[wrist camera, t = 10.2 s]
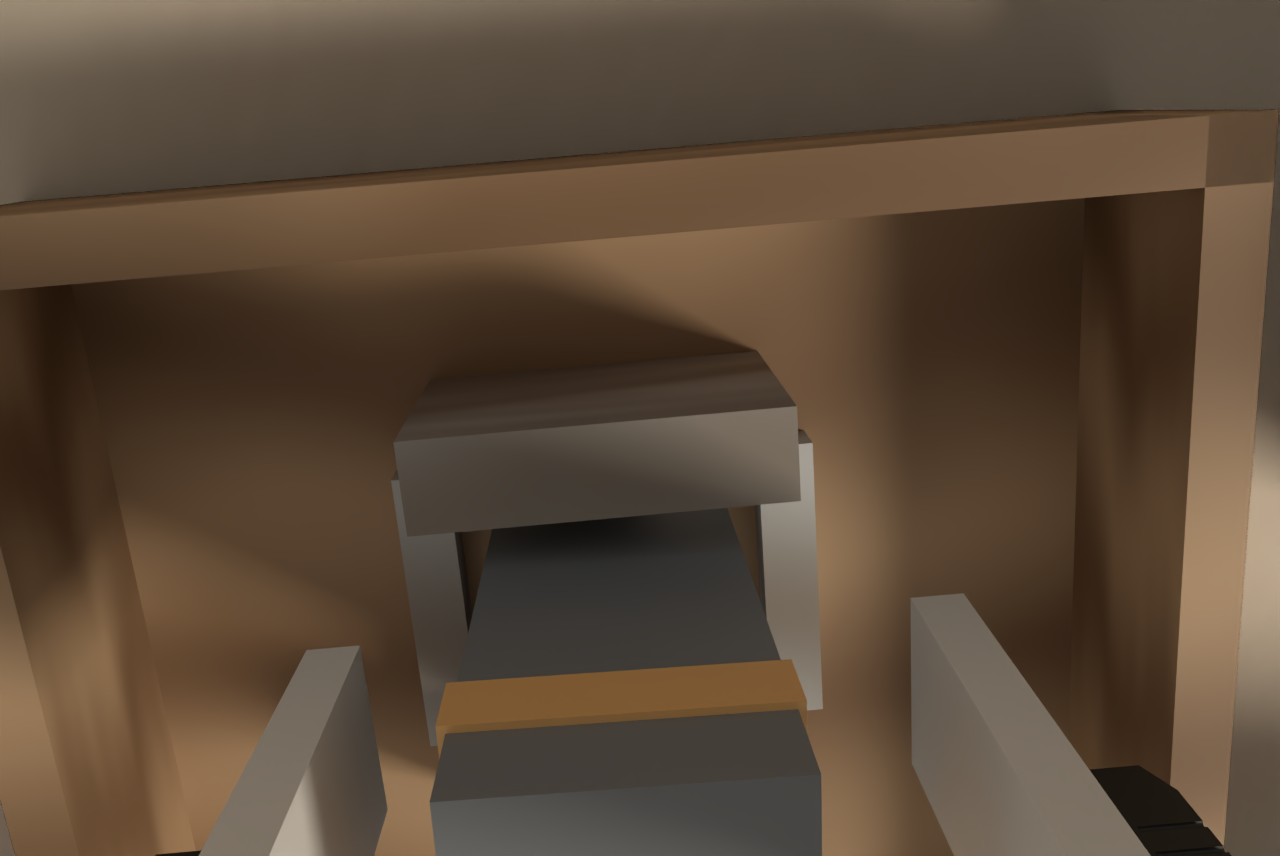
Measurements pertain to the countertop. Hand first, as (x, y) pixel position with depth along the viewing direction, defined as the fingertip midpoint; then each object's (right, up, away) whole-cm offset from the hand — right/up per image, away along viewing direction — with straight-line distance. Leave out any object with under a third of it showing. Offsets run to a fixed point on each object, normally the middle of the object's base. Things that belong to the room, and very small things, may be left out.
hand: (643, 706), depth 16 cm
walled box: (0, -1, +7) cm, 7 cm away
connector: (-1, +1, +6) cm, 6 cm away
